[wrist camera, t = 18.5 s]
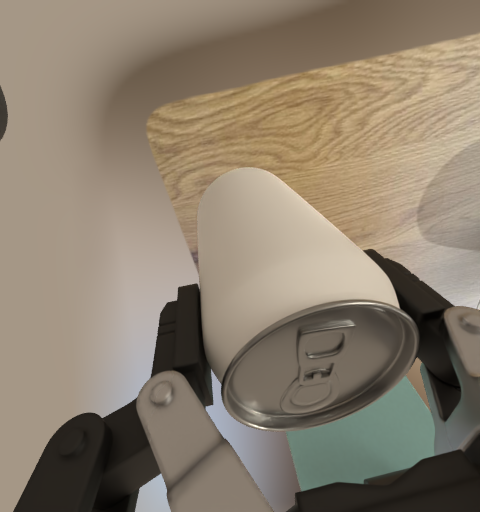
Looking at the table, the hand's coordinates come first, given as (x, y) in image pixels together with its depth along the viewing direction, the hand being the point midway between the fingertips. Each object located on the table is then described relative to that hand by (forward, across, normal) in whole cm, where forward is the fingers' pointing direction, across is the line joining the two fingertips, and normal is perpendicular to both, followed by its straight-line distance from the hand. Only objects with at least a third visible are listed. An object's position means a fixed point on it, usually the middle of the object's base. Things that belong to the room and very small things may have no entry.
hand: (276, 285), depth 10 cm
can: (+8, 0, 0) cm, 8 cm away
